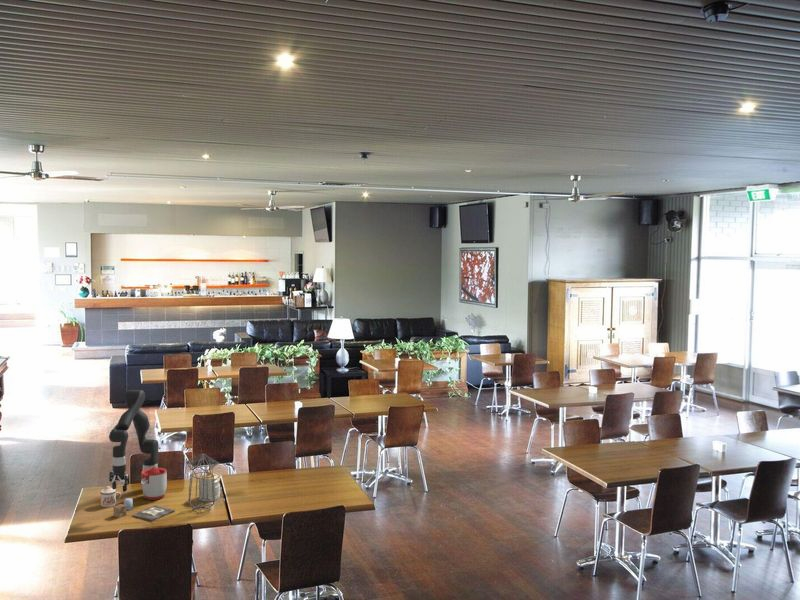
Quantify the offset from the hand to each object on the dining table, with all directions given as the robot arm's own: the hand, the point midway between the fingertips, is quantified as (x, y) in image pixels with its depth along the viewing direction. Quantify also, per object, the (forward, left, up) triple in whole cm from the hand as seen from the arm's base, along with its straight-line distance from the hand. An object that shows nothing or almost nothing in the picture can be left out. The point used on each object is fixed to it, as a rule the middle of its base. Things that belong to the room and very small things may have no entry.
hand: (119, 490), depth 434 cm
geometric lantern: (-32, +35, -16) cm, 50 cm away
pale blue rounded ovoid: (-10, -4, -16) cm, 19 cm away
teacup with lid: (-10, -19, -16) cm, 27 cm away
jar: (-49, +25, -16) cm, 57 cm away
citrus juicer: (-32, -6, -16) cm, 36 cm away
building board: (-12, +15, -16) cm, 25 cm away
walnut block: (0, 0, -16) cm, 16 cm away
